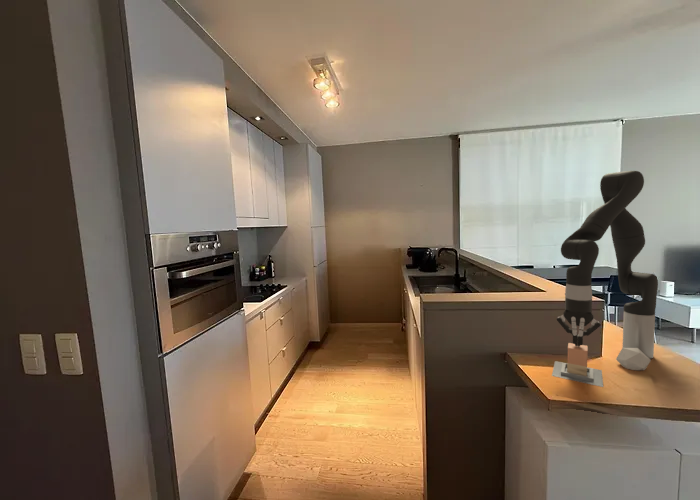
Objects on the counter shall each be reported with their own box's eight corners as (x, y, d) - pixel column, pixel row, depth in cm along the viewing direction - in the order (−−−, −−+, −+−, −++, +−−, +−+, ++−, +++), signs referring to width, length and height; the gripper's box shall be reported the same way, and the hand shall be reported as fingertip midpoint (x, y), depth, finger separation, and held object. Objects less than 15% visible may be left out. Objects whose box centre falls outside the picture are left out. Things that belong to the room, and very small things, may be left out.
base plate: (555, 364, 120) (555, 358, 120) (601, 373, 111) (601, 367, 111) (551, 379, 109) (551, 372, 109) (603, 390, 100) (603, 384, 100)
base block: (567, 367, 114) (568, 357, 114) (586, 371, 111) (587, 360, 110) (567, 373, 110) (567, 363, 109) (586, 378, 106) (587, 366, 106)
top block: (568, 357, 114) (568, 342, 113) (587, 360, 110) (587, 345, 110) (567, 363, 109) (567, 347, 109) (587, 366, 106) (587, 351, 105)
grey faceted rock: (650, 380, 107) (659, 355, 109) (623, 365, 109) (633, 341, 111) (632, 377, 115) (641, 354, 117) (607, 364, 117) (617, 341, 119)
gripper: (602, 296, 107) (601, 345, 108) (556, 293, 115) (555, 338, 116) (603, 301, 101) (602, 353, 102) (554, 297, 109) (554, 345, 110)
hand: (577, 345), depth 109 cm, fingers closed
